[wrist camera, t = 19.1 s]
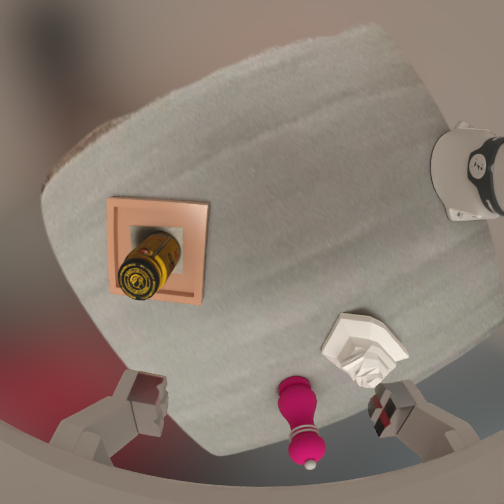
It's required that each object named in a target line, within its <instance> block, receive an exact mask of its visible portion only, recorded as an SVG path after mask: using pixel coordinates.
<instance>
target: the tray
mask: <svg viewBox="0 0 504 504" xmlns="http://www.w3.org/2000/svg"><path fill="white" fill-rule="evenodd" d="M209 205H210V203H206V202H194V201H182V200H168V199H154V198H138V197H120V196H113V197H109V198H107V255H108V274H109V287H110V293H112V294H118V295H125V296H127V295H126V294H125V293H124V292H123V291H122V289H121V288H120V286H119V283H118V271H119V269H120V266H121V265H122V263H124V260H125V258H126V256H127V255H128V254H129V253H130V252H131V240H130V226H149V227H154V226H155V227H180V228H183V274H177V273H171V274H170V276H169V278H168V279H167V281H166V283H165V284H164V286H163V287H162V288H161V289H160V290H158V291H157V292H156V293H155V294H154V295H153V296H152V297H151V298H148V299H153V300H161V301H169V302H177V303H185V304H194V305H201V304H202V301H203V292H204V274H205V258H206V243H207V229H208V217H209Z"/></svg>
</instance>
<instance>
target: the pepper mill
mask: <svg viewBox="0 0 504 504" xmlns="http://www.w3.org/2000/svg"><path fill="white" fill-rule="evenodd" d="M279 396H280V397H279V400H278V407H279V410H280V412H281V414H282V415H283V417H284V418H285V419H286V420H287V421H288V423H289V425H290V428H291V432H290V434H289V438H290V442H291V443H290V445H289V448H288V451H289V455H290V457H291V459H292V460H293V461H294V462H296V463H298V464H302V465H305V468H306V469H309V470H311V469H314V468H315V466H316V462H317V461H319V460H320V459H321V458H322V457H323V455H324V454H325V451H326V445H325V442H324V440H323V439H322V438H321V437H320V434H319V430H318V428H317V427H316V426H315V425H314V421H313V417H314V412H315V409H316V404H317V400H316V395H315V393H314V392H313V391H312V390H311V387H310V384H309V381H308V380H307V379H306V378H303V377H300V376H293V377H289V378H287V379H285V380H284V381H282V382H281V384H280V385H279Z"/></svg>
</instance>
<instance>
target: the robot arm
mask: <svg viewBox="0 0 504 504" xmlns="http://www.w3.org/2000/svg"><path fill="white" fill-rule="evenodd" d="M431 175H432V181H433V185H434V188H435V190H436V192H437V194H438V196H439V198H440V199H441V200H442V202H443V203H444V205H445V208H446V212H447V216H448V218H449V219H450V220H452V221H465V220H483V219H497V218H498V216H502V217H504V137H496V135H495V134H493V133H491V131H490V130H488V129H478V128H473V127H472V126H471V125H470V124H468V123H467V122H465V121H460V122H458V124H457V125H456V126H455V128H454V129H453V130H452V131H449V132H447V133H445V134H444V135H443V136H441V137H440V139H439V140H438V141H437V143H436V145H435V147H434V150H433V154H432V159H431ZM457 214H458V215H457ZM166 386H167V378H166V376H162V375H157V374H151V373H146V372H141V371H135V370H131V369H127V370H125V371H124V373H123V375H122V378H121V380H120V382H119V384H118V386H117V388H116V390H115V392H114V394H113V396H112V397H110V396H108V397H106V398H104V399H103V400H100V401H99V402H97V403H95V404H93V405H91V406H89V407H87V408H86V409H83V410H82V411H80V412H78V413H76V414H74V415H72V416H70V417H68V418H66V419H64V420H62V421H61V423H60V425H59V426H58V428H57V430H56V431H55V433H54V435H53V437H52V439H51V441H50V443H49V444H48V443H45V442H43V441H41V440H38V439H36V438H34V437H32V436H30V435H28V434H26V433H24V432H22V431H20V430H18V429H16V428H14V427H12V426H11V425H8V424H7V423H5V422H3V421H1V420H0V504H504V430H502V431H500V432H498V433H496V434H494V435H492V436H490V437H488V438H486V439H483V440H480V439H479V438H478V436H477V435H476V433H475V432H474V430H473V429H472V427H471V426H470V424H469V423H467V422H465V421H463V420H461V419H459V418H457V417H455V416H453V415H452V414H450V413H448V412H446V411H444V410H442V409H441V408H439V407H437V406H435V405H433V404H431V403H427V402H426V401H425V399H424V398H423V396H422V394H421V393H420V392H419V390H418V389H417V387H416V386H415V384H414V383H413V381H411V380H410V379H409V380H402V381H395V382H386V383H379V384H378V385H377V386H376V388H375V393H376V394H375V395H374V396H373V397H372V398H371V399H370V401H369V404H368V414H369V417H370V419H371V420H372V421H374V422H375V425H374V428H375V431H376V433H377V435H378V437H379V438H383V437H390V436H396V437H397V438H399V439H400V440H401V441H402V442H403V443H405V444H406V445H407V446H408V447H409V448H411V449H412V450H413V451H414V452H416V453H417V454H418V455H419V456H421V457H422V458H423V459H424V460H423V461H422V463H421V464H418V465H414V466H411V467H407V468H404V469H400V470H396V471H392V472H388V473H384V474H379V475H374V476H370V477H365V478H359V479H353V480H347V481H340V482H333V483H325V484H316V485H304V486H287V487H237V486H220V485H208V484H198V483H191V482H183V481H177V480H170V479H165V478H159V477H153V476H149V475H144V474H140V473H136V472H131V471H127V470H123V469H120V468H116V467H114V466H113V464H112V462H111V460H110V457H111V456H112V455H114V454H115V453H116V452H117V451H119V449H121V448H122V447H123V446H125V445H126V444H127V443H128V442H129V441H131V440H132V439H133V438H134V437H136V436H137V435H138V433H140V434H146V435H151V436H158V437H160V436H161V433H162V429H163V425H164V422H163V417H164V416H165V415H166V413H167V408H168V392H167V391H166Z"/></svg>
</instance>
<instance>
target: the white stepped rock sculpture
mask: <svg viewBox="0 0 504 504" xmlns="http://www.w3.org/2000/svg"><path fill="white" fill-rule="evenodd" d="M322 354H323V355H324V356H325V357H327V358H328V359H329V360H330V361H331V362H333V363H334V364H335V365H336V366H337V367H338V368H340V369H341V370H343V371H345V372H346V373H348V374H349V375H350V376H351V377H352V379H353V381H354V382H357V383H358V384H359V386H360V387H366V388H374V387H375V386H376V385H377V384H379V383H380V382H381V381H382V380H383V379H384V378H385V377H386V376H387V375H388V373H389V372H390V371H392V370H393V369H394V368H395V367H396V362H395V361H399V360H402V359H406V358H409V355H408V351H407V350H406V349H405V348H404V346H403V345H402V344H401V343H400V342H399V341H398V339H397V338H396V337H395V336H394V335H393V334H392V332H391V331H390V330H389V329H388V328H387V327H386V325H385V324H384V323H383V322H381V321H379V320H377V319H375V318H373V317H371V316H365V315H356V314H347V313H340V315H339V317H338V319H337V321H336V322H335V324H334V326H333V328H332V330H331V332H330V334H329V335H328V337H327V339H326V341H325V343H324V344H323V346H322Z"/></svg>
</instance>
